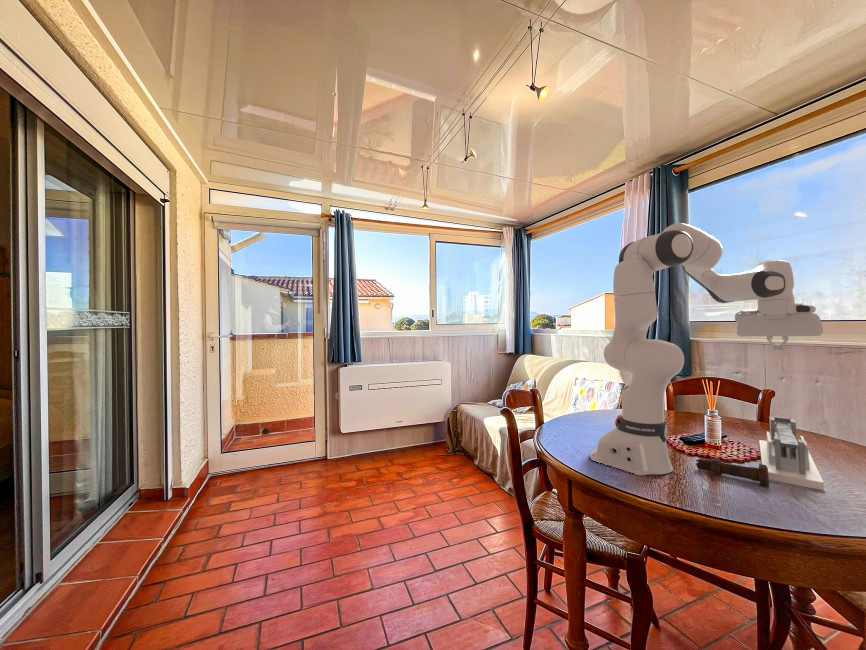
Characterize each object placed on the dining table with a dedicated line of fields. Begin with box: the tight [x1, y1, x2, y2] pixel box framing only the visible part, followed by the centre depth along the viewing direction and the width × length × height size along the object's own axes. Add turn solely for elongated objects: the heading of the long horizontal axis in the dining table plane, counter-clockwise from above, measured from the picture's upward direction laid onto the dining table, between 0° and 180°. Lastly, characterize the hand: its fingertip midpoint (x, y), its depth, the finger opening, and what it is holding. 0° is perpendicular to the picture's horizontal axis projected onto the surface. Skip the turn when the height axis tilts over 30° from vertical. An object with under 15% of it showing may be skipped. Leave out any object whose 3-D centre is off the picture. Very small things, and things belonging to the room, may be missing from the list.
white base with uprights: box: [758, 415, 825, 491], centre depth 101 cm, size 11×32×11 cm, turn 137°
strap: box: [775, 422, 798, 449], centre depth 101 cm, size 3×24×1 cm, turn 137°
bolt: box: [695, 457, 770, 488], centre depth 95 cm, size 6×5×15 cm
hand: (777, 349), depth 114 cm, fingers closed
